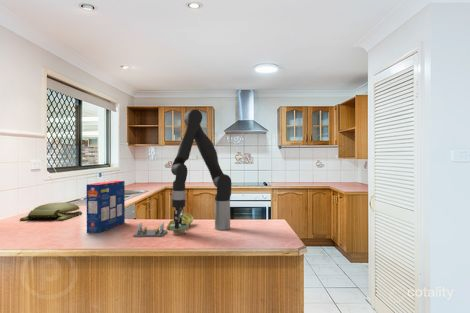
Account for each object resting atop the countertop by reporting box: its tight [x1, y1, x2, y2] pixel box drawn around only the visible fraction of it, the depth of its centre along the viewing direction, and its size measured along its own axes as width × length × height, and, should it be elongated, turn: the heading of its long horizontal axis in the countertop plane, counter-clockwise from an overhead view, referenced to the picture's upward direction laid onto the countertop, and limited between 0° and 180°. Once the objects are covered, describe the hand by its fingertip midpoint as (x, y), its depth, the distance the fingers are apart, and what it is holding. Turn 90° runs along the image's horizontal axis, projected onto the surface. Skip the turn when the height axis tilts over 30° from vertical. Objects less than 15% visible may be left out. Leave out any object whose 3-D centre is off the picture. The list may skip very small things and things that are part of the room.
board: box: [168, 223, 190, 231], centre depth 185 cm, size 10×6×3 cm, turn 89°
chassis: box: [132, 222, 168, 238], centre depth 184 cm, size 16×12×6 cm
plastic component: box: [165, 211, 195, 230], centre depth 204 cm, size 20×7×10 cm
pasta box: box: [86, 180, 126, 234], centre depth 202 cm, size 28×8×28 cm, turn 169°
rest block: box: [172, 230, 186, 236], centre depth 185 cm, size 6×4×3 cm, turn 89°
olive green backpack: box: [19, 202, 83, 222], centre depth 239 cm, size 35×31×10 cm
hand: (178, 226), depth 185 cm, fingers open, 8 cm apart
